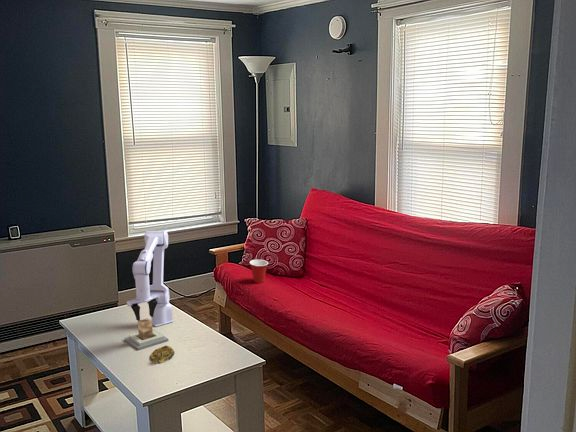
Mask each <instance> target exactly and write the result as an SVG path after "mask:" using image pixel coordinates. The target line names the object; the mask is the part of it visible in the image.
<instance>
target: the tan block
mask: <svg viewBox="0 0 576 432" xmlns="http://www.w3.org/2000/svg"><path fill="white" fill-rule="evenodd" d="M137 327H138V328H137V329H138V333H139V338H140V339H141V340H145V339H149V338H152V337H153V325H152V321H151V319H149V318H143V319H140V320H139V321H138V320H137Z"/></svg>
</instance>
